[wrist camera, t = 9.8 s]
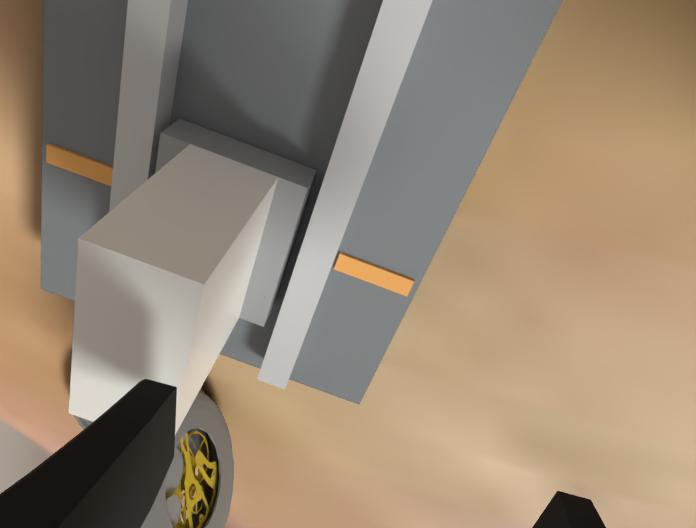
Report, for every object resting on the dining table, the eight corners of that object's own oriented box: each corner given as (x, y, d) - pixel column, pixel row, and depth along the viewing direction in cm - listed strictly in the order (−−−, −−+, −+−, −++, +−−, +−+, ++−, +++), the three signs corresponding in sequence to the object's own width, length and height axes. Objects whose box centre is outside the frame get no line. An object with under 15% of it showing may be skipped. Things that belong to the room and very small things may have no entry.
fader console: (830, -587, 9) (974, -783, 6) (366, 366, 22) (354, 425, 19) (131, -898, 9) (-3, -1236, 6) (73, 259, 21) (22, 305, 19)
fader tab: (317, 170, 15) (245, 299, 10) (274, 303, 18) (200, 460, 13) (180, 118, 15) (35, 222, 10) (157, 261, 18) (35, 401, 13)
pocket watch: (57, 392, 26) (-137, 622, 17) (147, 295, 22) (-49, 534, 13) (197, 487, 28) (86, 733, 19) (303, 414, 24) (220, 686, 15)
